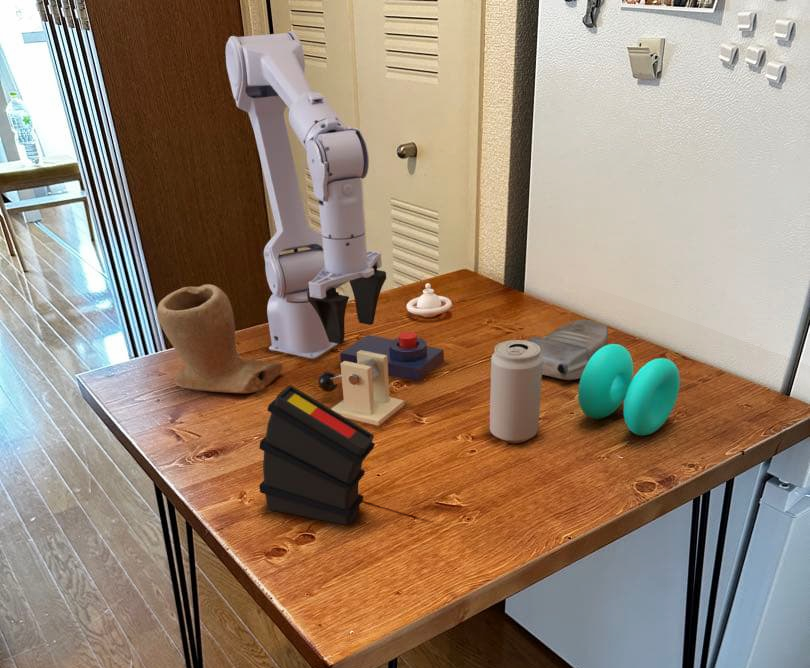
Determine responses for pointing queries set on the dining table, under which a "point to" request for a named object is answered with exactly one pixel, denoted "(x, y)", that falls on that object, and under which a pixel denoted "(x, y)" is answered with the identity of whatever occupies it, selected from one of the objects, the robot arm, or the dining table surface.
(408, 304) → the ring around a ball
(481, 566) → the dining table surface
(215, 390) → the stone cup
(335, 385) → the toggle
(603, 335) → the handheld device
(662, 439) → the dining table surface
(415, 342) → the red push button
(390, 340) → the push button base
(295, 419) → the magazine
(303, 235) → the robot arm
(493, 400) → the beverage can
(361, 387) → the switch box
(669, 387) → the turquoise spool
